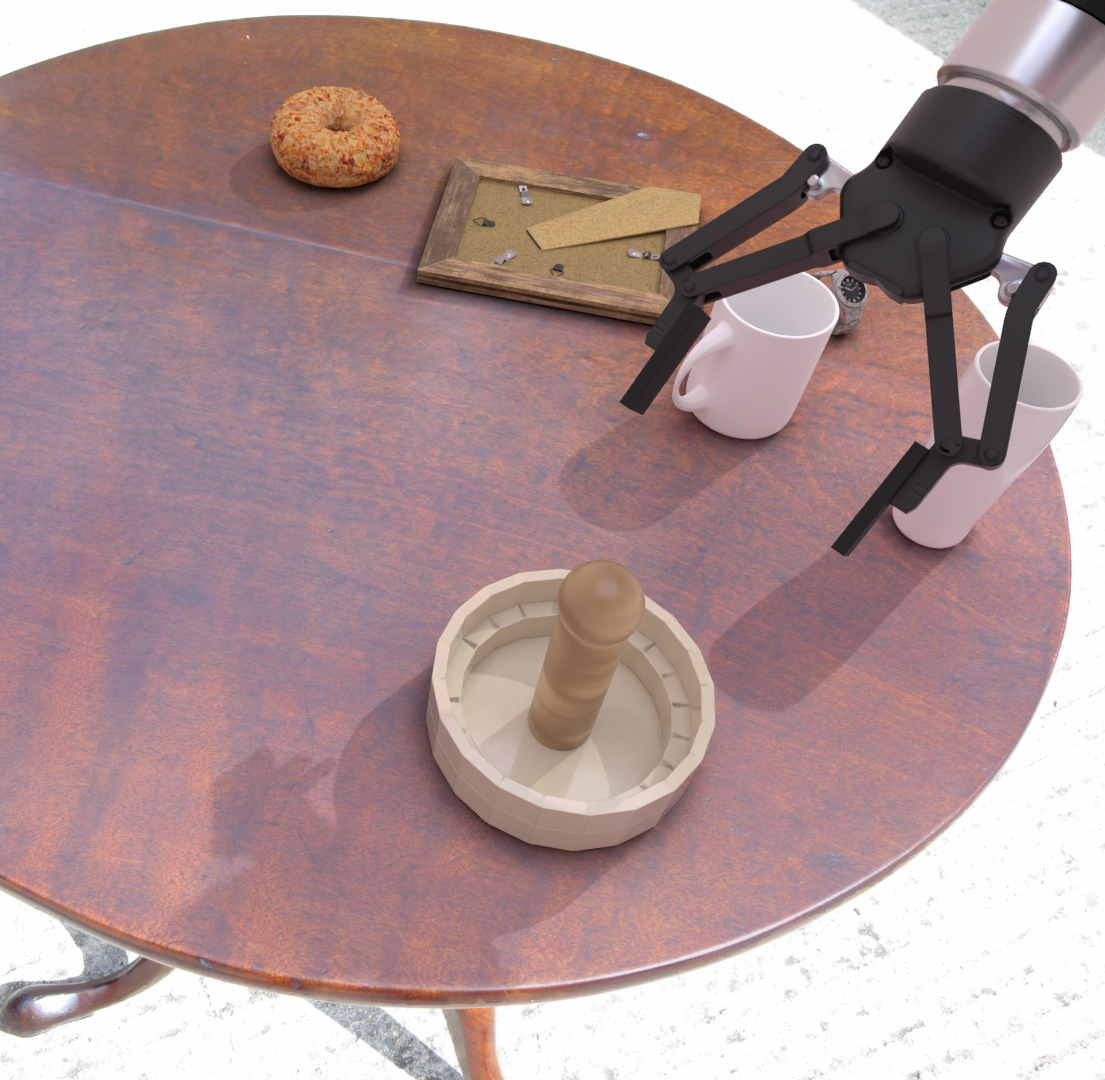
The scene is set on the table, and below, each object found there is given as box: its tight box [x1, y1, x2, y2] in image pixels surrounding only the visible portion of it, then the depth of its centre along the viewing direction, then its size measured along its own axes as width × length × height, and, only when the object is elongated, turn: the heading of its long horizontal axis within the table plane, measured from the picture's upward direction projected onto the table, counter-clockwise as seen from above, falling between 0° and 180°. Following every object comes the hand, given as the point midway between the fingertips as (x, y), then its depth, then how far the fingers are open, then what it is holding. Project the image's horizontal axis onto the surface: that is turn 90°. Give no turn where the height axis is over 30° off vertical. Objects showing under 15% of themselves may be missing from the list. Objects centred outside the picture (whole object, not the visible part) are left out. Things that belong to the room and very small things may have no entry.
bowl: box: [425, 568, 716, 852], centre depth 65 cm, size 17×17×6 cm
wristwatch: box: [810, 268, 869, 336], centre depth 92 cm, size 4×6×5 cm, turn 22°
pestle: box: [528, 559, 645, 751], centre depth 61 cm, size 5×5×15 cm
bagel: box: [269, 85, 402, 189], centre depth 104 cm, size 13×14×5 cm
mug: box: [671, 271, 840, 440], centre depth 82 cm, size 9×12×11 cm
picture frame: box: [416, 155, 702, 326], centre depth 98 cm, size 19×2×24 cm
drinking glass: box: [891, 340, 1084, 549], centre depth 73 cm, size 7×7×15 cm
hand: (730, 477), depth 58 cm, fingers open, 13 cm apart
